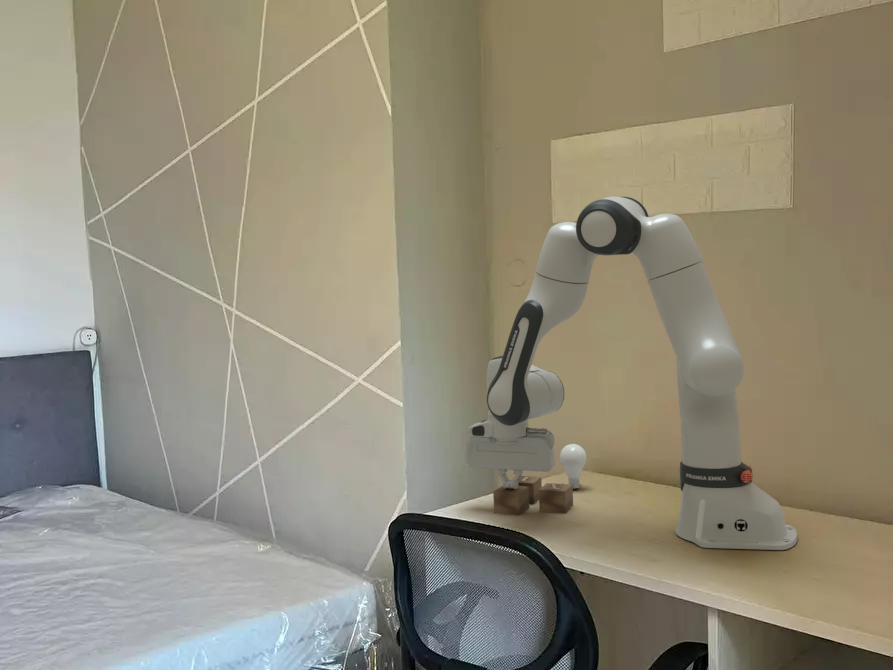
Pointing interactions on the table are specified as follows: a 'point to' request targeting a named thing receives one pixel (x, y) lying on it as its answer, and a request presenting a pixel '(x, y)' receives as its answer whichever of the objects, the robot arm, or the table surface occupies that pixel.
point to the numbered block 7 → (555, 498)
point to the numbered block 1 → (531, 487)
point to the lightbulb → (573, 462)
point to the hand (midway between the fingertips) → (511, 488)
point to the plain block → (511, 500)
